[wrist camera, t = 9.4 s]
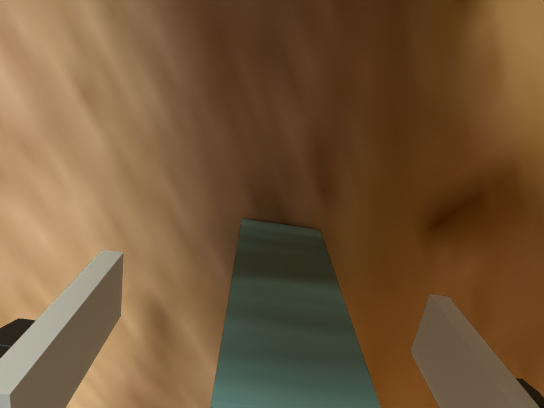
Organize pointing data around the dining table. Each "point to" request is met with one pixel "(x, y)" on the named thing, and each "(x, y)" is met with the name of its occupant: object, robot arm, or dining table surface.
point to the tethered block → (288, 327)
